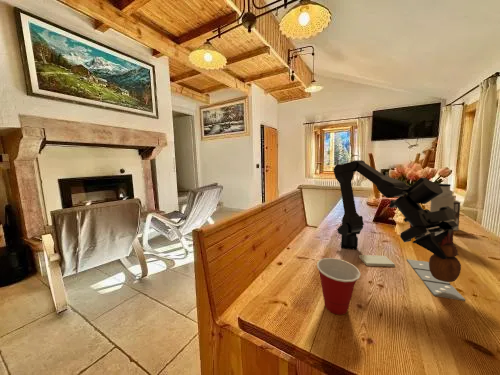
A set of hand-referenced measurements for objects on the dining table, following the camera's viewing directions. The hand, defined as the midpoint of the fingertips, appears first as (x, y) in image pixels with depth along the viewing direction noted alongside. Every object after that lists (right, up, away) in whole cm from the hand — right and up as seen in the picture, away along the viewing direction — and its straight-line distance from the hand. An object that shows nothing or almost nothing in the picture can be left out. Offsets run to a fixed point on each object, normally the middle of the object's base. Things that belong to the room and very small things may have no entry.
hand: (450, 257), depth 58 cm
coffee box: (+55, -3, +58) cm, 80 cm away
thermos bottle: (+35, -6, +41) cm, 55 cm away
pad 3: (0, -11, +2) cm, 11 cm away
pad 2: (+3, -10, +10) cm, 14 cm away
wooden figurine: (0, -8, +2) cm, 8 cm away
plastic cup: (-35, -13, -3) cm, 37 cm away
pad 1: (+6, -9, +17) cm, 20 cm away
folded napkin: (-8, -9, +21) cm, 25 cm away
